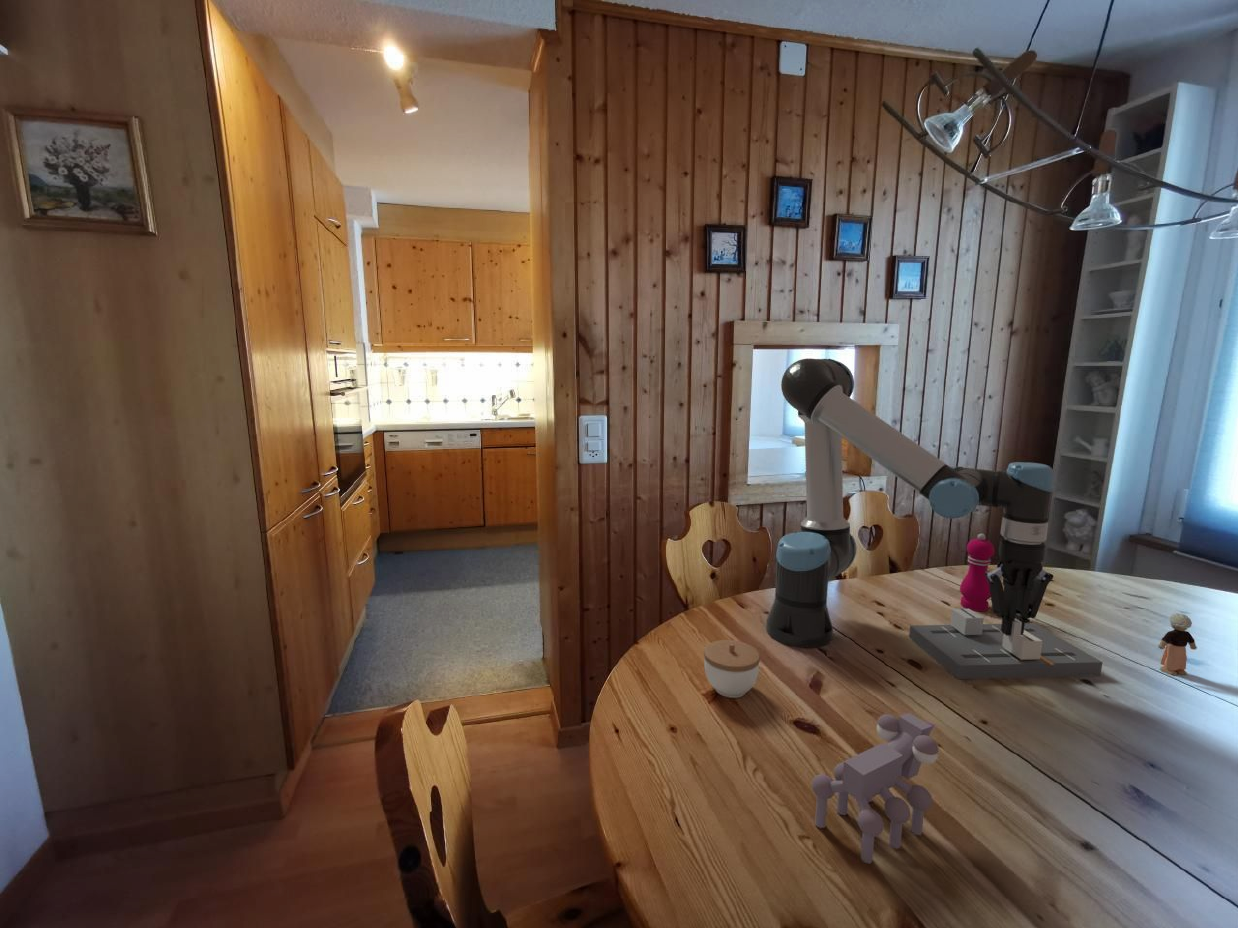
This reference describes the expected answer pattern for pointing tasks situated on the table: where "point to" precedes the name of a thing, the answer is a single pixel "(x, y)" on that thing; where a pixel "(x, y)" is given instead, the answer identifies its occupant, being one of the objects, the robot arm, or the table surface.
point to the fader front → (1028, 647)
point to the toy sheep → (882, 780)
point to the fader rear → (967, 621)
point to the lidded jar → (731, 667)
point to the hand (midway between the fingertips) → (1010, 648)
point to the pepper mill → (977, 575)
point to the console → (1001, 653)
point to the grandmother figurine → (1176, 645)
